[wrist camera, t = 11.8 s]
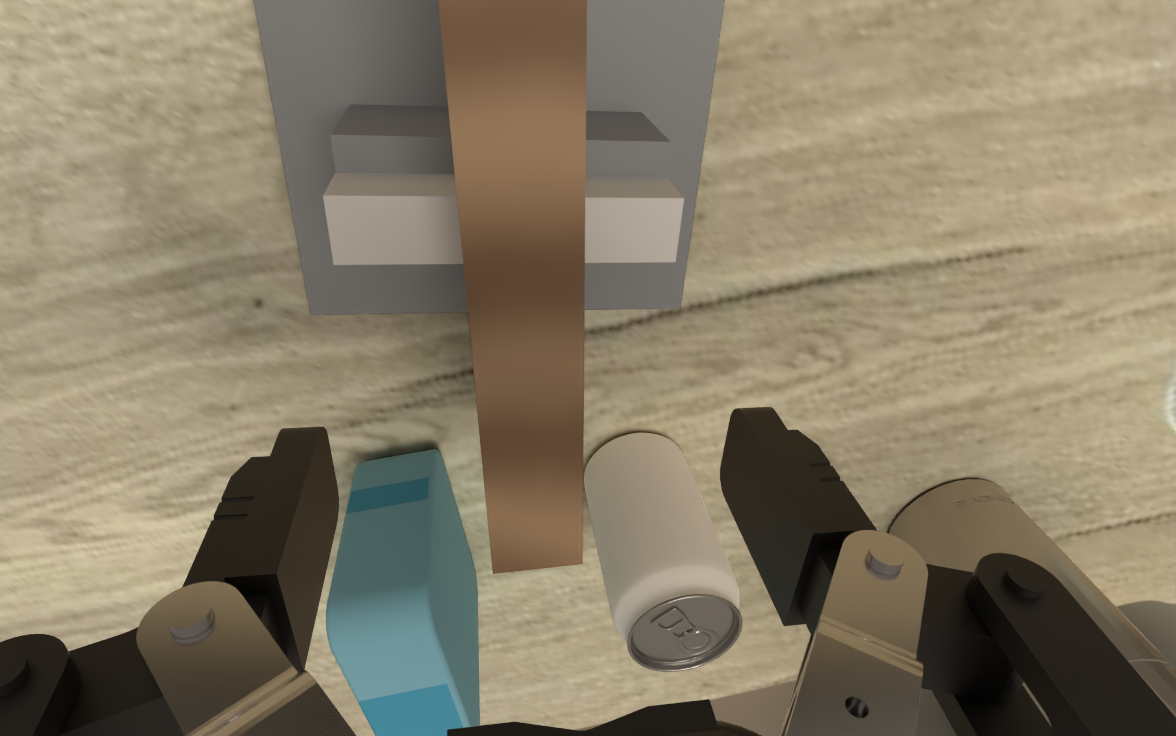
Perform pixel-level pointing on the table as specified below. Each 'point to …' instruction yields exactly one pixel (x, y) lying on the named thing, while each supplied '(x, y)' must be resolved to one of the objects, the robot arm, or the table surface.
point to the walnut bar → (523, 260)
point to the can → (660, 555)
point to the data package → (406, 600)
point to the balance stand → (425, 158)
